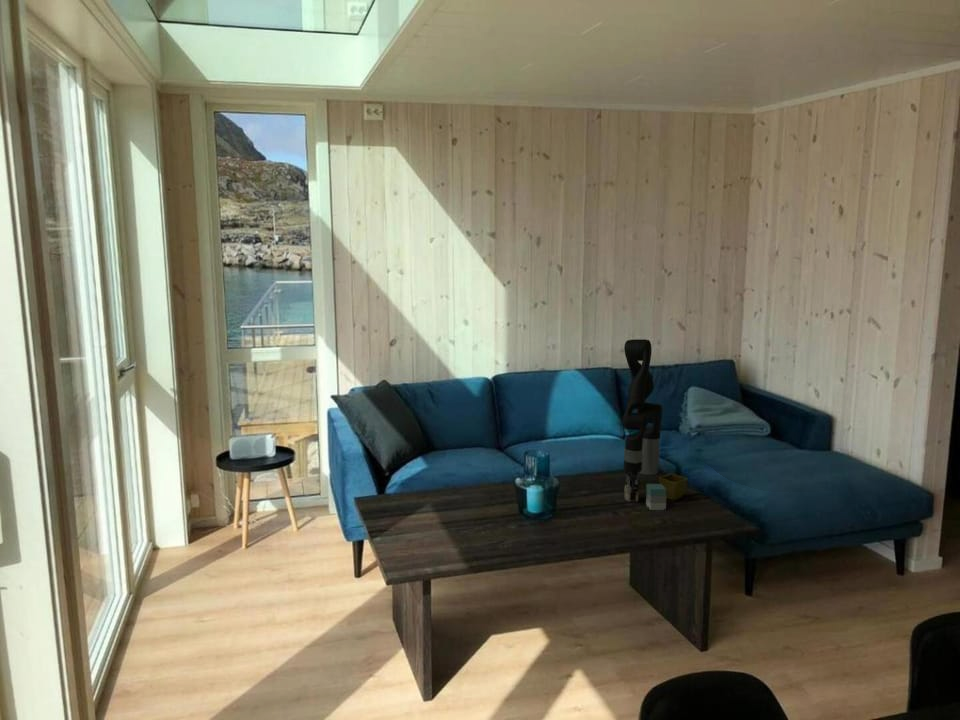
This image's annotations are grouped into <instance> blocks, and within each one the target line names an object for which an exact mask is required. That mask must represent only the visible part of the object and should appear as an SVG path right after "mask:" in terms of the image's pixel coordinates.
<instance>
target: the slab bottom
mask: <svg viewBox="0 0 960 720" xmlns="http://www.w3.org/2000/svg"><path fill="white" fill-rule="evenodd" d="M645 498H646V497H645ZM645 506H646V507H647V508H648V507H649V508H648V509H649V510H650V511H660V510H661V511H665V510H664V509H667V502H666V503H650V502H649V501H648V499H647V498H646V499H645Z"/></svg>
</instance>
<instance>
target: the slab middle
mask: <svg viewBox="0 0 960 720" xmlns="http://www.w3.org/2000/svg"><path fill="white" fill-rule="evenodd" d="M645 498H647V499H648V501H649V502H650V503H666V504H667V498H666V496H650V495H649V494H648V493H647V492H646V495H645Z"/></svg>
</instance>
